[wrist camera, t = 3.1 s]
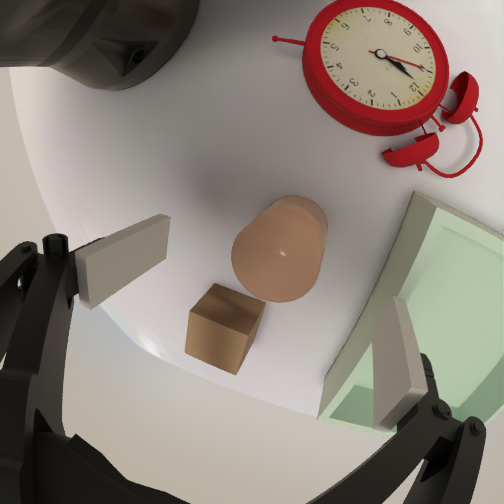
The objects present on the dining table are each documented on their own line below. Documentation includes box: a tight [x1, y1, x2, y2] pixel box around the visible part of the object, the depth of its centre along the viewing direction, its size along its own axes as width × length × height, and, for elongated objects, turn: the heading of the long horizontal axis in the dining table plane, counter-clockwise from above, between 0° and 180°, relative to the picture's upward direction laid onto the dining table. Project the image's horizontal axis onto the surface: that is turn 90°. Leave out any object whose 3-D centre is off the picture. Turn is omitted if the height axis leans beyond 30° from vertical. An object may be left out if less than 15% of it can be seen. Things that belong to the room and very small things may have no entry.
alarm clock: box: [272, 0, 483, 178], centre depth 14 cm, size 10×6×15 cm
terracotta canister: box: [231, 196, 328, 303], centre depth 19 cm, size 5×5×7 cm
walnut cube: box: [185, 284, 266, 375], centre depth 25 cm, size 5×5×5 cm
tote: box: [317, 191, 504, 437], centre depth 18 cm, size 19×20×6 cm
